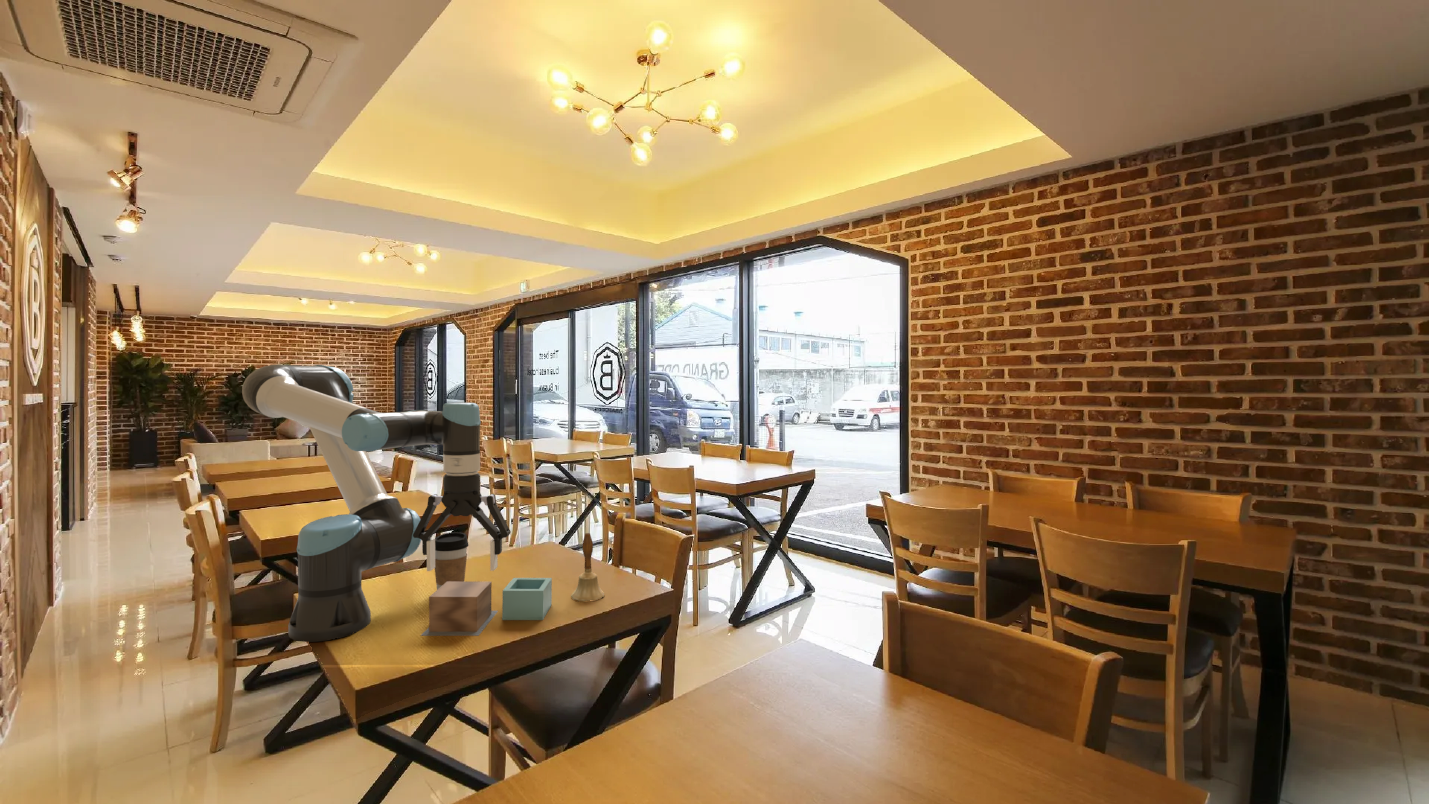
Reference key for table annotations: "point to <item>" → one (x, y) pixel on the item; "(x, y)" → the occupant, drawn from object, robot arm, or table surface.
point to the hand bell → (587, 576)
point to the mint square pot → (527, 599)
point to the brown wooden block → (460, 606)
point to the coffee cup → (450, 557)
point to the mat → (427, 633)
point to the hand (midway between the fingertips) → (462, 569)
